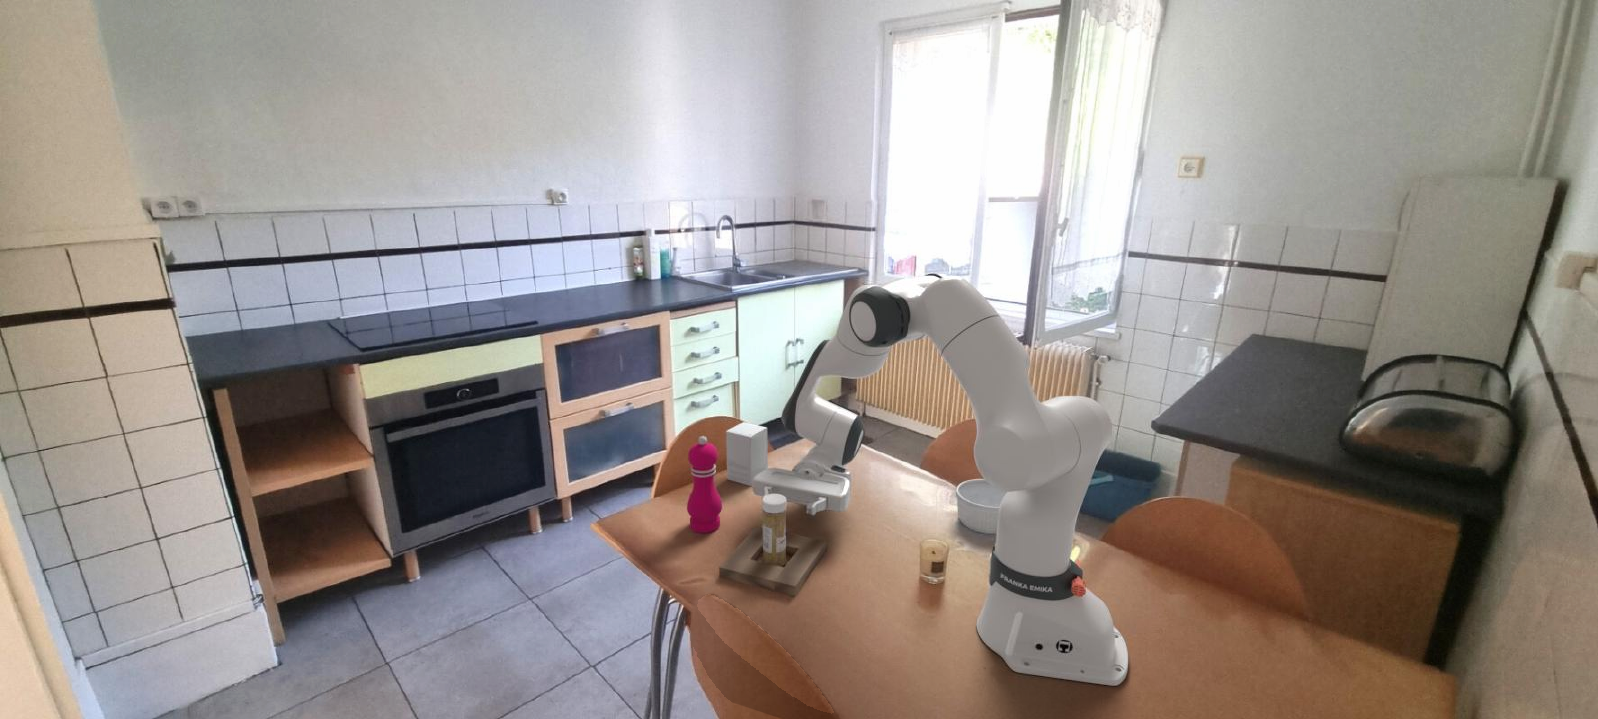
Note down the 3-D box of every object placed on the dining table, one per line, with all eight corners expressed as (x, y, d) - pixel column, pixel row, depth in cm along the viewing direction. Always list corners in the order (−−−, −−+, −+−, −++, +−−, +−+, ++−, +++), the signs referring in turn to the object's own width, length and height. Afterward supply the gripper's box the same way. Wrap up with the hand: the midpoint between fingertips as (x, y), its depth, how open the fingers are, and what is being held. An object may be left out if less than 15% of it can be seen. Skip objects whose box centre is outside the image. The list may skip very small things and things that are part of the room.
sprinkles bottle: (788, 567, 125) (788, 503, 121) (764, 570, 124) (764, 505, 120) (783, 554, 129) (784, 491, 125) (760, 557, 128) (760, 493, 125)
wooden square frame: (826, 550, 131) (826, 541, 130) (795, 596, 116) (795, 586, 116) (757, 534, 136) (757, 525, 136) (719, 576, 122) (719, 567, 121)
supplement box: (768, 475, 163) (768, 427, 159) (750, 487, 157) (750, 437, 153) (744, 468, 166) (743, 421, 163) (725, 479, 160) (724, 430, 157)
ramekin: (955, 534, 137) (958, 504, 135) (952, 504, 150) (954, 476, 148) (1022, 540, 135) (1025, 509, 133) (1013, 509, 148) (1016, 481, 146)
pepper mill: (716, 536, 135) (713, 444, 130) (682, 532, 137) (678, 441, 131) (727, 519, 142) (725, 431, 137) (694, 515, 143) (691, 428, 138)
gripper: (767, 455, 145) (739, 482, 133) (858, 472, 138) (836, 501, 125) (767, 482, 147) (739, 510, 134) (857, 499, 139) (835, 531, 127)
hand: (787, 506), depth 130 cm, fingers open, 8 cm apart
